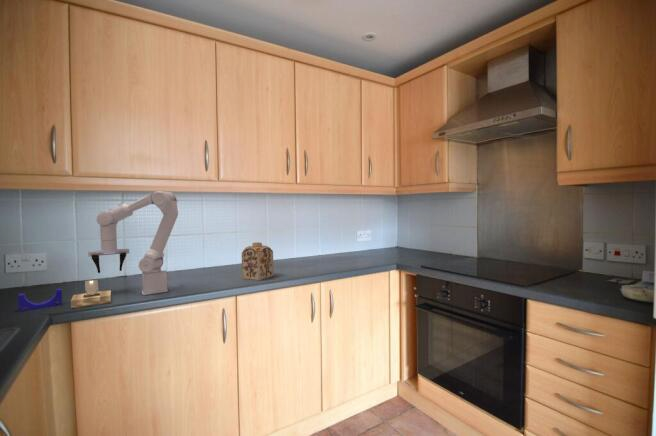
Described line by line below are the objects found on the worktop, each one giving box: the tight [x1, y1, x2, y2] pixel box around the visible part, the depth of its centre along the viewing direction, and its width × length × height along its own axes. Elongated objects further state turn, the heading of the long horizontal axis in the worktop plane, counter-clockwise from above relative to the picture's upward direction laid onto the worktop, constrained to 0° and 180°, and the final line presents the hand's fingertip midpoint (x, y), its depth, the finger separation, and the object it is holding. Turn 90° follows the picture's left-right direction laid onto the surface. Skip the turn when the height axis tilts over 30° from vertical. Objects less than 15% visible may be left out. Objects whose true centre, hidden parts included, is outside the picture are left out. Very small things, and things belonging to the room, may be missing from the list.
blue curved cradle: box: [17, 288, 63, 313], centre depth 123 cm, size 12×4×6 cm, turn 129°
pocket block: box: [70, 289, 112, 310], centre depth 127 cm, size 12×10×3 cm
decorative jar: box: [241, 241, 275, 281], centre depth 168 cm, size 12×12×18 cm
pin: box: [84, 279, 99, 297], centre depth 127 cm, size 4×4×8 cm
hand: (110, 271), depth 141 cm, fingers open, 7 cm apart
